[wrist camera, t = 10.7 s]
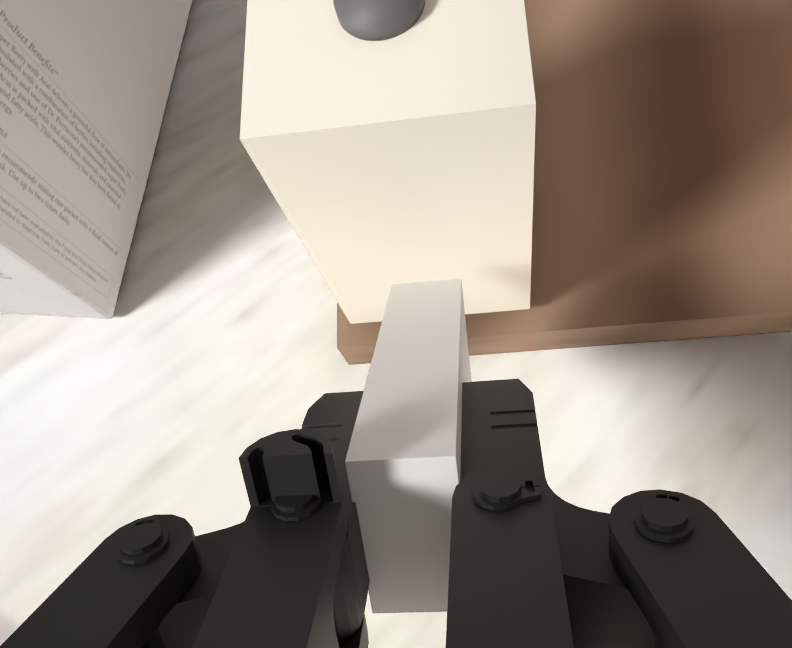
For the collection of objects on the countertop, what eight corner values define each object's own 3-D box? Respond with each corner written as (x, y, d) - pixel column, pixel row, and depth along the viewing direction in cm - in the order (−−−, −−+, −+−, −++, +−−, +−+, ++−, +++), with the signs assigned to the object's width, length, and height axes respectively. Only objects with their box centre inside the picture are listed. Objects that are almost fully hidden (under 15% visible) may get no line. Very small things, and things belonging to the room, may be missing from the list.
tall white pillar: (350, 324, 21) (233, 129, 12) (349, 171, 23) (246, -91, 14) (529, 308, 20) (535, 91, 12) (514, 153, 22) (509, -134, 14)
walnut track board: (349, 364, 23) (335, 345, 21) (347, 7, 28) (335, -31, 26) (1072, 309, 20) (1122, 282, 19) (926, -74, 25) (954, -123, 24)
